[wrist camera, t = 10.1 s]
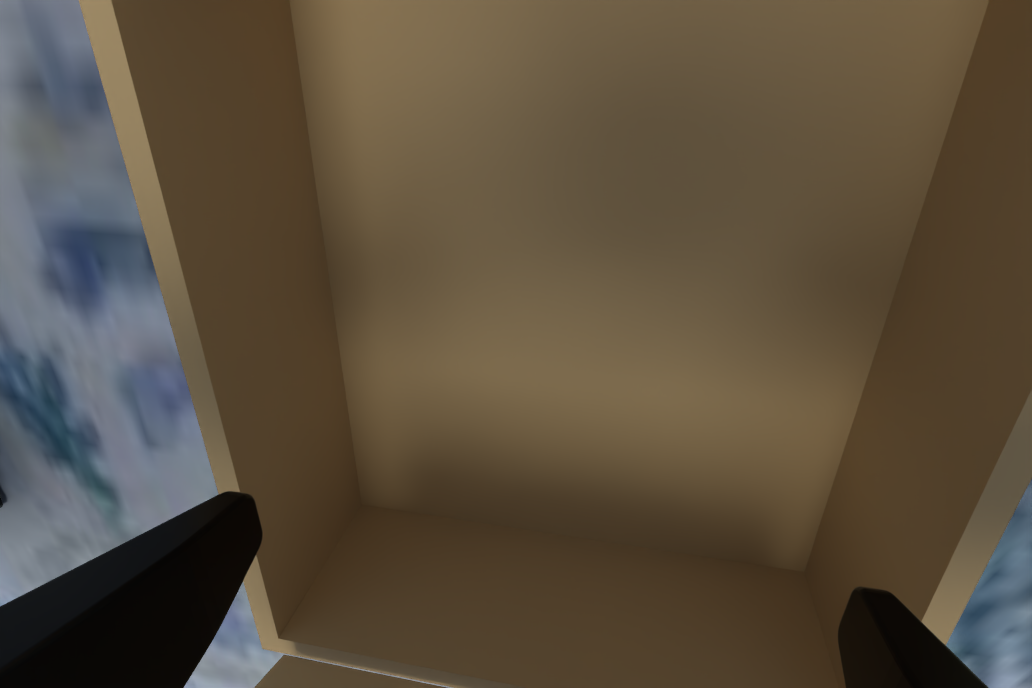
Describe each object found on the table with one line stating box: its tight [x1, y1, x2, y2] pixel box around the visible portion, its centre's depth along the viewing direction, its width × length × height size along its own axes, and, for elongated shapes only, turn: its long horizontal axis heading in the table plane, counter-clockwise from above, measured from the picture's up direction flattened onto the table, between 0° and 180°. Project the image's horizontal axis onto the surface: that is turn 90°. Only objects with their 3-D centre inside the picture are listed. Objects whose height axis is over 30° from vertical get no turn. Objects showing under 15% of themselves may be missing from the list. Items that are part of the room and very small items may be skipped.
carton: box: [79, 0, 1032, 688], centre depth 14 cm, size 18×16×6 cm
